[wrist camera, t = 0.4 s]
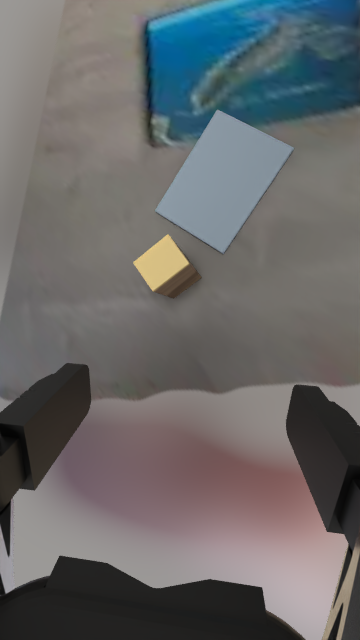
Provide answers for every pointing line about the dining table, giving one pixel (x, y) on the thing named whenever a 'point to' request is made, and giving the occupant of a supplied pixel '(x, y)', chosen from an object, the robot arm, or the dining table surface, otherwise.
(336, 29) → the dining table surface
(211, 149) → the slate mat
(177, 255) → the wooden block
